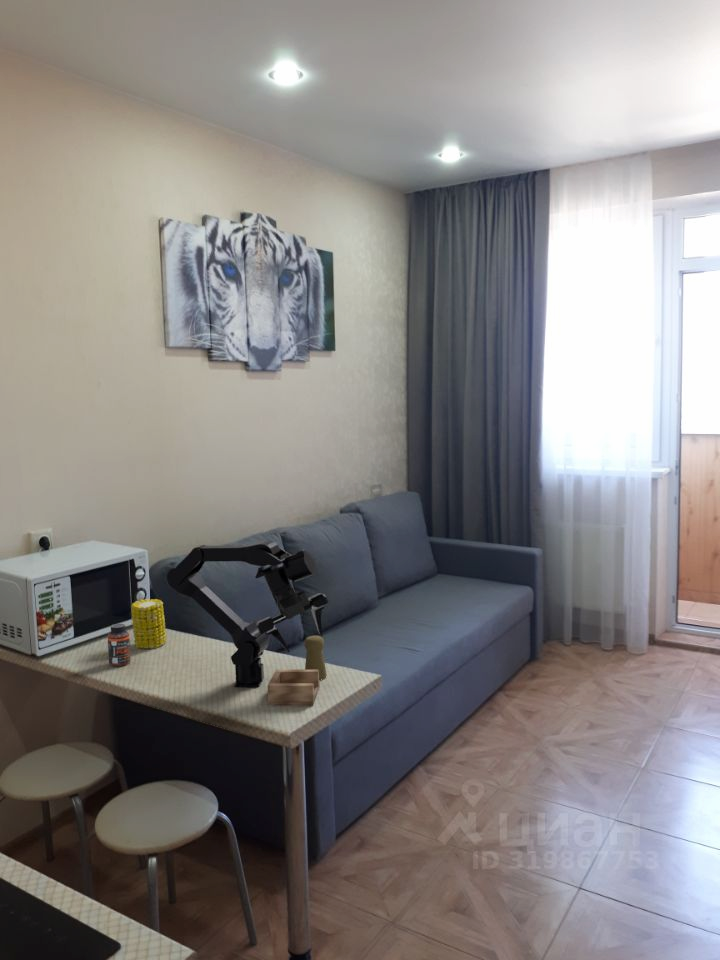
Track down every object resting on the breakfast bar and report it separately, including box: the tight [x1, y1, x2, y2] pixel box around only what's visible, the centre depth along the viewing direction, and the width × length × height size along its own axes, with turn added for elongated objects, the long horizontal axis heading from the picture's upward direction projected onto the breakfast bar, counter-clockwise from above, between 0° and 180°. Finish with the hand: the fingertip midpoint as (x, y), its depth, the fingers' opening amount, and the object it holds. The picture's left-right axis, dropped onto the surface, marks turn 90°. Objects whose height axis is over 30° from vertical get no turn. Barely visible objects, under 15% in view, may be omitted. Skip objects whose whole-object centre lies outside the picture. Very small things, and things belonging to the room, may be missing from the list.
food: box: [130, 598, 167, 649], centre depth 229 cm, size 15×12×10 cm
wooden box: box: [267, 669, 321, 707], centre depth 185 cm, size 11×12×5 cm
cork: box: [303, 635, 328, 681], centre depth 198 cm, size 6×6×11 cm
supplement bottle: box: [107, 623, 132, 667], centre depth 213 cm, size 6×6×11 cm
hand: (305, 644), depth 190 cm, fingers open, 9 cm apart
